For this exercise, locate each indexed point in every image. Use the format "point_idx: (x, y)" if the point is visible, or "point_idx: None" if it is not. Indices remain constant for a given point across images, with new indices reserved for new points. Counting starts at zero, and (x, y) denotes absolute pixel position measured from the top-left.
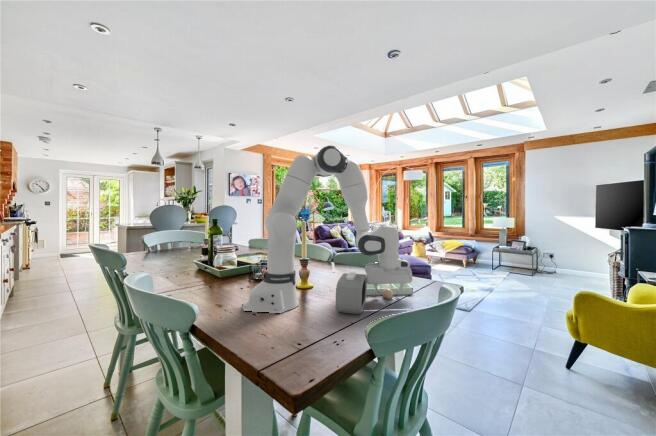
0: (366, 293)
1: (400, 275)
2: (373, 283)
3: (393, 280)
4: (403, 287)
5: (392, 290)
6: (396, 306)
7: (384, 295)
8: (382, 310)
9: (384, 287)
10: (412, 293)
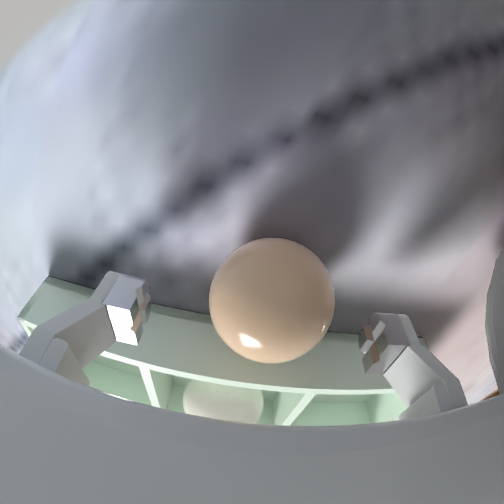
0: (496, 310)
1: (7, 499)
2: (497, 403)
3: (175, 476)
4: (92, 370)
5: (184, 353)
6: (287, 36)
7: (331, 282)
8: (470, 26)
9: (246, 399)
10: (42, 286)
